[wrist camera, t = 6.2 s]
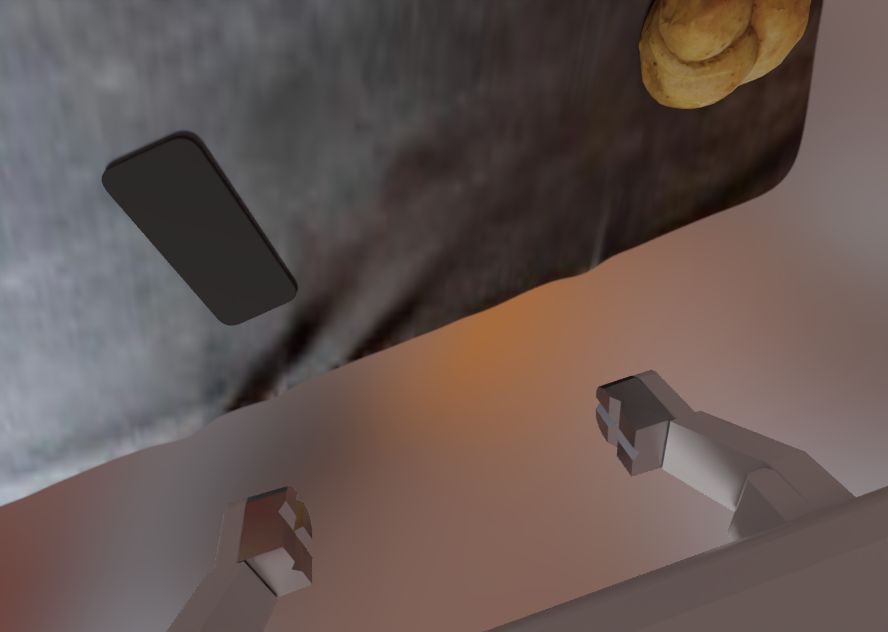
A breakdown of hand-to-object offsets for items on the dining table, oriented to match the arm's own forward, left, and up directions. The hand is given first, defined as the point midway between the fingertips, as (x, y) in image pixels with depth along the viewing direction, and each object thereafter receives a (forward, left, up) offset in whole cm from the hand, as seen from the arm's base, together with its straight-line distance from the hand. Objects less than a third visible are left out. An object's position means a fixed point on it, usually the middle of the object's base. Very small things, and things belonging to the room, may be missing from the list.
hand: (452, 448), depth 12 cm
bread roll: (+29, +3, -30) cm, 41 cm away
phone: (-13, -4, -30) cm, 33 cm away
